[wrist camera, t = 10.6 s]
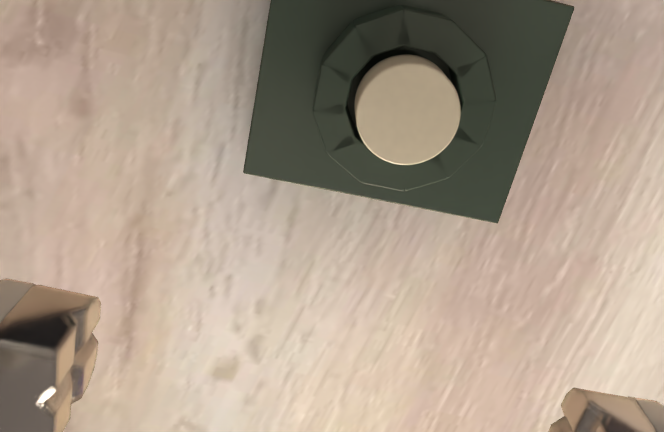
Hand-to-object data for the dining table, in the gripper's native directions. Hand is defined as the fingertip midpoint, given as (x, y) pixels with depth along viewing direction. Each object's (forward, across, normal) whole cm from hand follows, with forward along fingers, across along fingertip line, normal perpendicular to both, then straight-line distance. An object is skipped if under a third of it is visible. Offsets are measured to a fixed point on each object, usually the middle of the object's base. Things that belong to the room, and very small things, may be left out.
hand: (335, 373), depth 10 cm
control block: (+17, -2, -2) cm, 18 cm away
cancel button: (+14, -2, -2) cm, 14 cm away
